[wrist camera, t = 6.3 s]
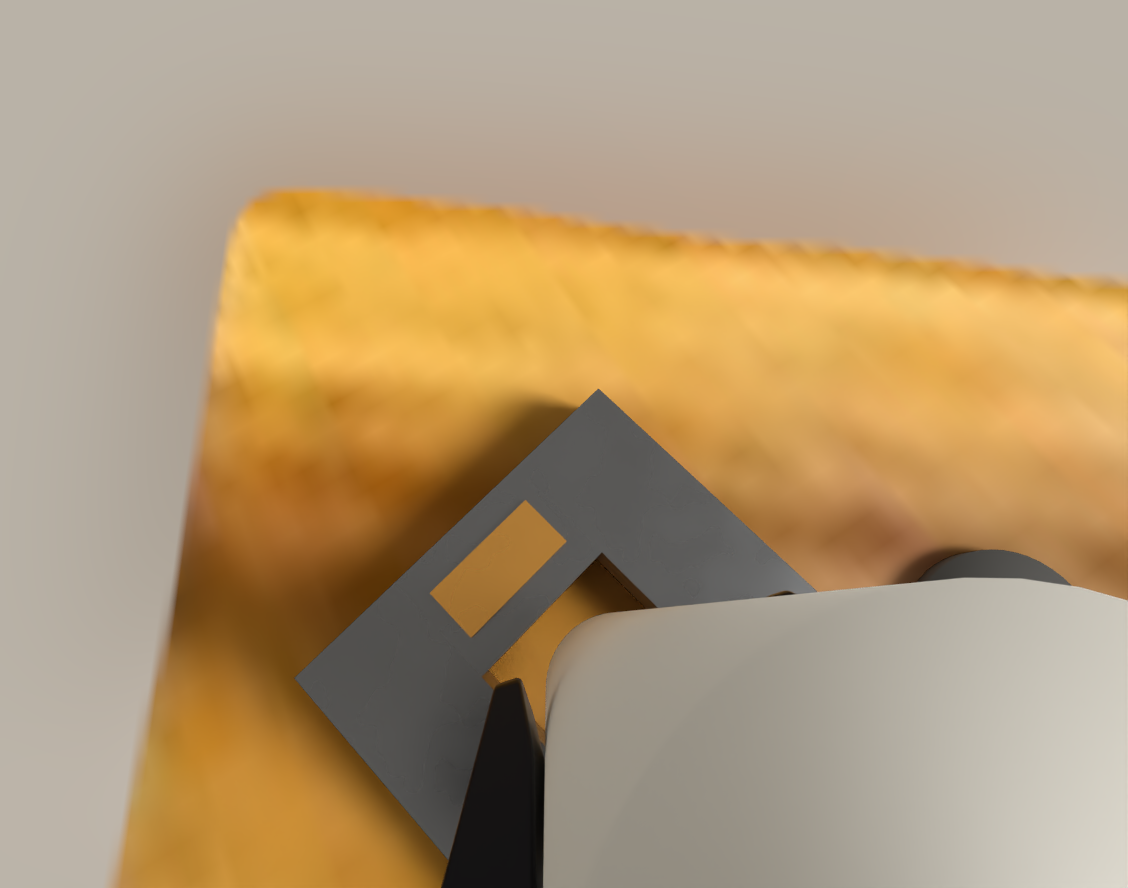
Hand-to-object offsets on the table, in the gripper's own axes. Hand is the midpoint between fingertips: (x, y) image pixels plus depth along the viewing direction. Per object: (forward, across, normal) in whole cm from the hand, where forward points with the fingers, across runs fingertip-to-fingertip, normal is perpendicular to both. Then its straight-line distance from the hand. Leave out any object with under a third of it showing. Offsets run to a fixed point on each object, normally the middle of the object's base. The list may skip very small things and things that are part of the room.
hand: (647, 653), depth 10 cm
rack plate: (+8, 0, +10) cm, 13 cm away
